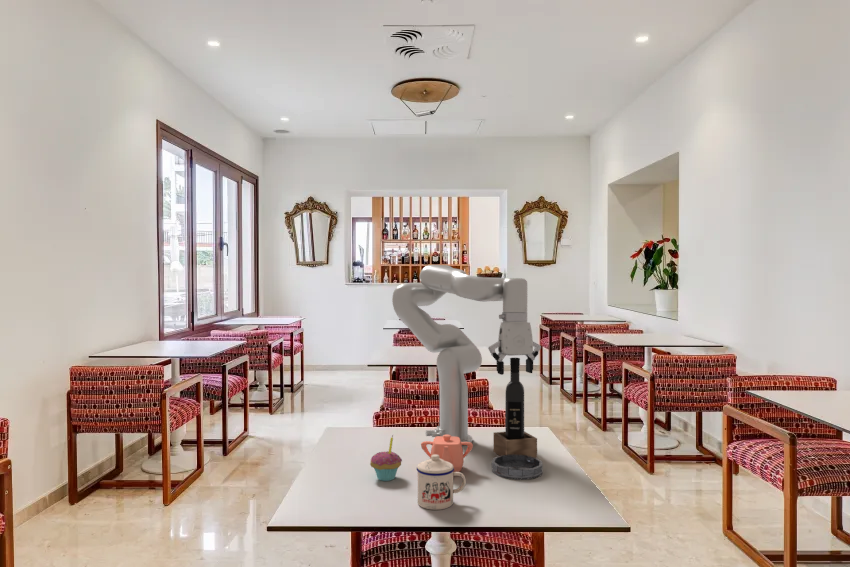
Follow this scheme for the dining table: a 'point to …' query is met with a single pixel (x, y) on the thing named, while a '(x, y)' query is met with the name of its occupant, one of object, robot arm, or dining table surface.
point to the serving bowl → (517, 466)
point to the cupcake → (386, 464)
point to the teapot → (448, 450)
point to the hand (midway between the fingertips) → (514, 373)
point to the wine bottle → (514, 404)
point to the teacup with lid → (436, 483)
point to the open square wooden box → (515, 445)
